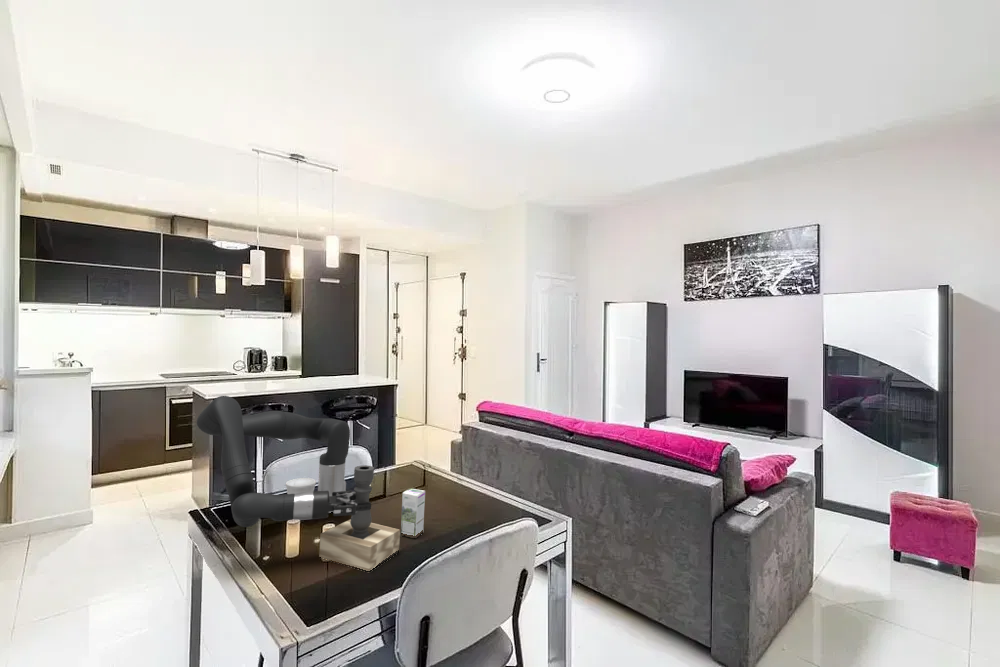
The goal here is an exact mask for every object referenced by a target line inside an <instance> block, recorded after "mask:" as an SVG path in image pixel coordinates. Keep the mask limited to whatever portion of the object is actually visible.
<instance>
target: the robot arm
mask: <svg viewBox="0 0 1000 667" xmlns="http://www.w3.org/2000/svg"><path fill="white" fill-rule="evenodd" d="M196 426H197V427H198V429H199V430H200V431H202V432H203V433H205V434H207V435H211V436H214V437H215V436H216V437H222V449H221V457H220V458H221V459H220V469H221V470H220V471H221V475H222V479H223V482H224V486H225V489H226V490H225V491H226V492H227V494H228V497H229V503H230V508H231V509H230V510H231V514H232V518H233V521H234V522H235V523H236V525H237V526H240V527H243V528H249V527H252V526H254V525H255V524H257V522H258V521H259V520H260V519H261V518H262V519H263V518H264V519H266V518H267V519H268V518H269V519H271V520H272V521H274V522H275V521H277V522H280V521H281V522H282V521H283V522H284V521H293V520H295V521H304V520H307V521H308V520H317V519H326V518H328V517H329V514H330V513H331V512H333V514H332V513H331V514H332V516H333V517H343V516H352V515H355V513H356V512H357V511H365V510H370V511H371V509H372V503H371V502H370V501H369V502H360V503H356V492H355V491H353V490H346V489H347V481H346V479H345V478H346V477H345V474H346V461H347V460H346V459H347V456H348V454H349V448H350V439H351V429H350V428H351V427H350V425H349V424H348V423H347V422H346V421H344V420H340V419H335V418H320V417H319V418H318V417H317V418H316V417H307V416H304V415H301V414H299V413H294V412H289V411H283V410H269V411H264V412H262V411H261V412H259V413H255V414H248V415H247V414H246V415H243V413H242V408H241V405H240V403H239V402H238V401H237V400H236V399H235V398H233V397H231V396H228V395H221V396H220V395H219V396H217V397H216V398H214V399H213V400H212V401H210V402H209V404H208V405H207V406H205V408H204V409H203V410H202V411H201V412H200V413H199V415H198V417H197V419H196ZM245 437H254V438H268V439H275V440H276V439H277V440H284V441H285V440H289V441H290V440H297V439H309V440H315V441H319V442H321V443H325V444H326V445H327V447H326V452H325V453H322V454H320V456H319V462H318V463H319V465H318V484H317V491H315V490H314V491H313V492H302V493H296V494H287V493H285V494H274V493H265V492H256V489H255V484H254V476H253V474H252V470H251V467H250V463H249V459H248V455H247V449H246V443H245Z"/></svg>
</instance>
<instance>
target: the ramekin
mask: <svg viewBox="0 0 1000 667" xmlns="http://www.w3.org/2000/svg"><path fill="white" fill-rule="evenodd" d="M316 484H317V480H316V479H315V478H311V477H298V478H294V479H290V480H287V481H286V482H285V487H286V494H296V493H302V492H313V491H315V487H316Z"/></svg>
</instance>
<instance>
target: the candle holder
mask: <svg viewBox="0 0 1000 667" xmlns="http://www.w3.org/2000/svg"><path fill="white" fill-rule="evenodd" d="M353 471H354V472H353V473H354V474H353V480H354V484H355V486H354V488H353V492H355V493H356V501H355V503H360V502H370V493H371V491H373V487H371V484H372V482H373V480H374V476H375V475H374V474H375V467H374V466H372V465H358V466H355V467H354V470H353ZM350 516H351V517H350V519H351V521H350V523H351V526H352V528H353V532H352V534H351V535H350V536H352V537H356V538H360V539H365V538H366V537H368V536H370V534H369V533H368V531H367V530H368V527H369V526H370V524H371V523H372V514H371V509H370V510H365V511H357V512H356V513H355V515H350Z"/></svg>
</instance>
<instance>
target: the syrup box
mask: <svg viewBox="0 0 1000 667" xmlns="http://www.w3.org/2000/svg"><path fill="white" fill-rule="evenodd" d="M401 498H402V502H401V522H400V524H401V525H400V534H401V533H403V534H407V535H413V536H416V535H417V534H418V533H420V532H421V531H422V530H423V531H424V520H425V502H426V490H422V489H418V488H417V489H416V488H408V489H407V490H405V491H403V492H402V497H401Z"/></svg>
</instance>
